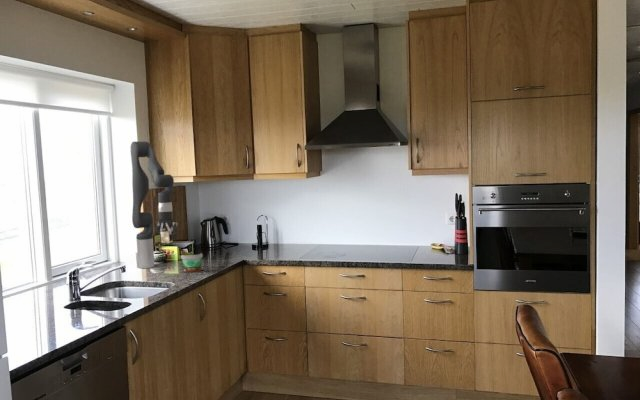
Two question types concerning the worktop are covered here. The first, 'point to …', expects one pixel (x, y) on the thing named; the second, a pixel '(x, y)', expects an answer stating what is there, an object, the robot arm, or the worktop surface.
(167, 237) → the birch block
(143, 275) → the worktop surface
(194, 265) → the food container
